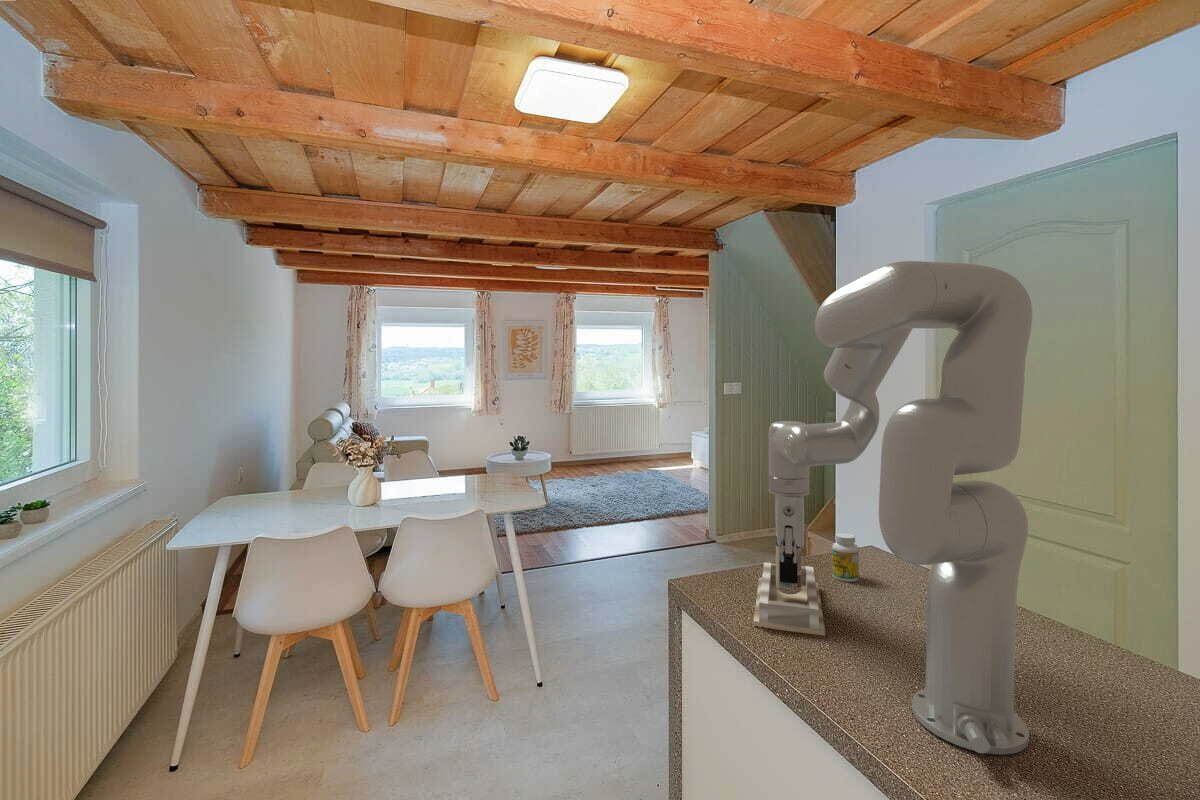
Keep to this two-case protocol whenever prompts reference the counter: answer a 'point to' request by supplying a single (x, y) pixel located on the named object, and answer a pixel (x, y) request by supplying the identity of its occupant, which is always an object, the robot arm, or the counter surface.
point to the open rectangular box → (789, 604)
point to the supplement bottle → (845, 558)
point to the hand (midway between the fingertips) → (788, 576)
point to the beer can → (781, 586)
